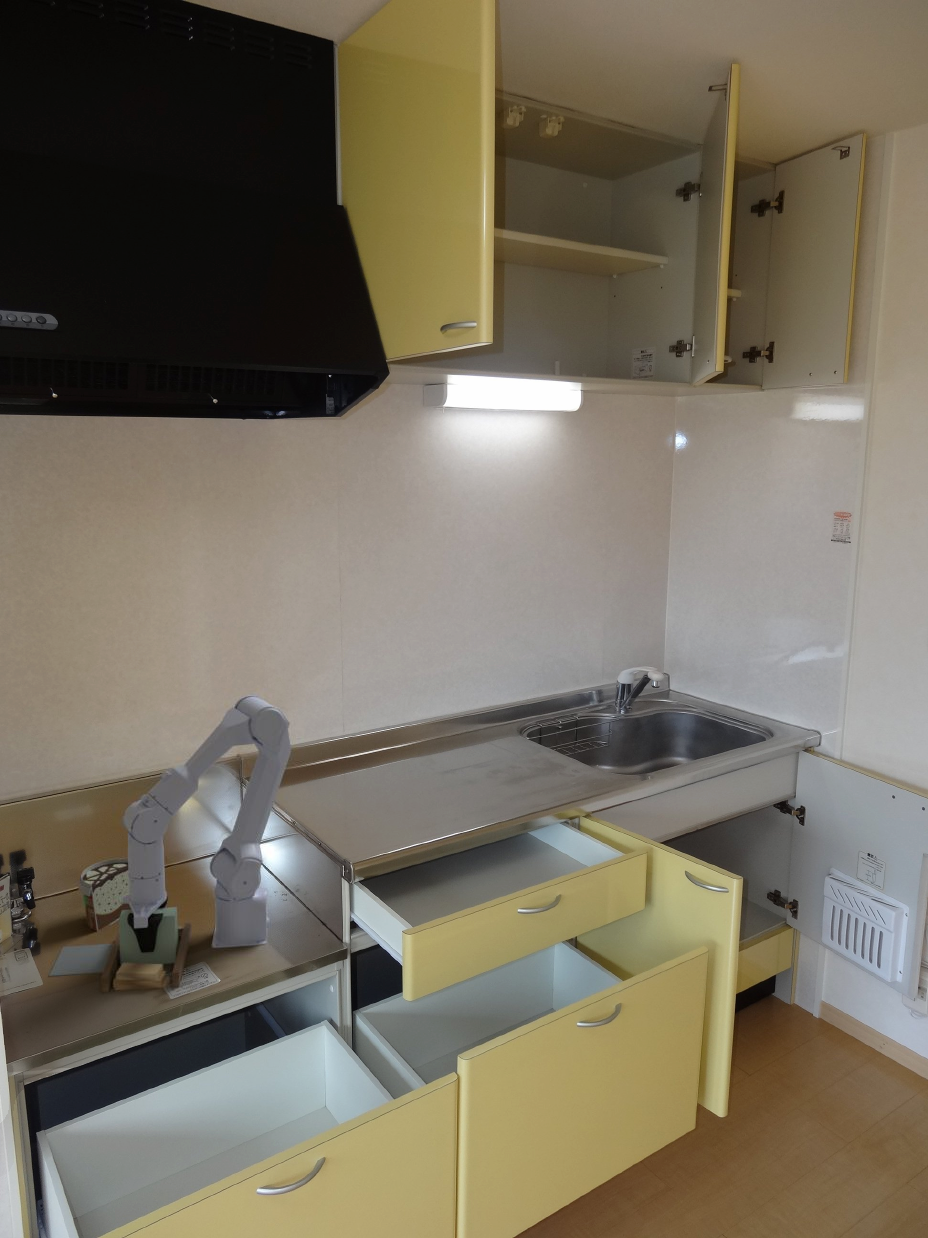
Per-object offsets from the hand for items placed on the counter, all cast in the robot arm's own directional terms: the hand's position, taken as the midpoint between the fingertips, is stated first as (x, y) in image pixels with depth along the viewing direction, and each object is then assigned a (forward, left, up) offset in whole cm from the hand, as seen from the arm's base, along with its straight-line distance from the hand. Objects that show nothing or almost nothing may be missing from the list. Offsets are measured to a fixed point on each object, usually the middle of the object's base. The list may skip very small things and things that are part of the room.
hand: (149, 945), depth 153 cm
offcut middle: (+1, +7, -3) cm, 7 cm away
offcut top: (+1, +7, -1) cm, 7 cm away
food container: (+11, -16, -3) cm, 20 cm away
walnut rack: (0, +1, -3) cm, 3 cm away
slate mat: (+11, -1, -3) cm, 12 cm away
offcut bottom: (0, +7, -4) cm, 8 cm away
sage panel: (0, 0, -3) cm, 3 cm away
